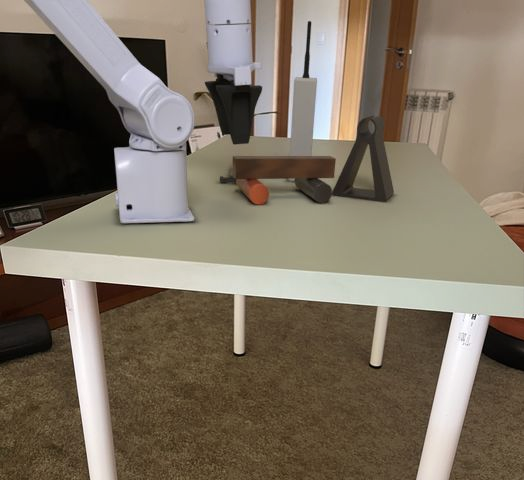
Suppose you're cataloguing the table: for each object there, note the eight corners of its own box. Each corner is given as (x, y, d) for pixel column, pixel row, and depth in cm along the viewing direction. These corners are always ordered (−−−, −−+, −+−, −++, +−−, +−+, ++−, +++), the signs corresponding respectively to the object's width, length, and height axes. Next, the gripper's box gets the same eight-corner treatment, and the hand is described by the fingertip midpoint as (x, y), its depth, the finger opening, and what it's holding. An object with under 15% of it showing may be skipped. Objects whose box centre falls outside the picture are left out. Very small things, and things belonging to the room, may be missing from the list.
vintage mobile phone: (309, 177, 104) (321, 22, 92) (309, 182, 99) (321, 20, 87) (289, 176, 104) (298, 21, 92) (288, 181, 99) (297, 19, 88)
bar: (235, 179, 84) (235, 158, 83) (232, 176, 87) (232, 155, 85) (334, 178, 88) (336, 158, 87) (328, 175, 90) (330, 155, 89)
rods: (249, 204, 83) (250, 184, 82) (235, 190, 91) (236, 171, 90) (331, 203, 86) (333, 183, 85) (310, 189, 95) (311, 170, 93)
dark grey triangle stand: (331, 195, 91) (339, 116, 85) (342, 188, 96) (349, 113, 90) (386, 201, 88) (397, 120, 82) (393, 194, 93) (405, 117, 87)
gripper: (274, 23, 65) (276, 145, 71) (246, 24, 77) (251, 128, 84) (214, 25, 63) (223, 150, 70) (196, 26, 75) (204, 132, 82)
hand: (234, 138), depth 77 cm, fingers open, 7 cm apart
